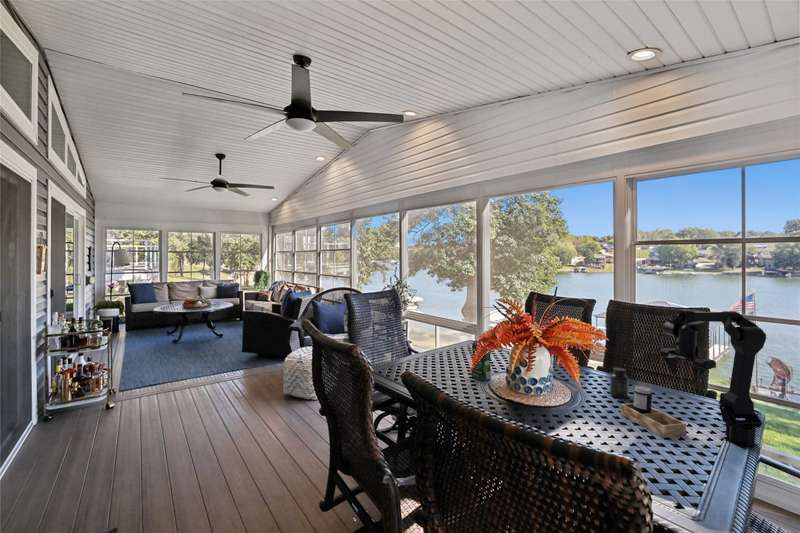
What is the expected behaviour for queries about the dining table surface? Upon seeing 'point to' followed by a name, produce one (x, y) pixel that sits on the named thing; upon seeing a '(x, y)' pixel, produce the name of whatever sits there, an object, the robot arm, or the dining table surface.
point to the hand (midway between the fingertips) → (685, 378)
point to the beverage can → (642, 399)
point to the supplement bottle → (619, 383)
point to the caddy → (655, 421)
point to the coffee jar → (481, 366)
